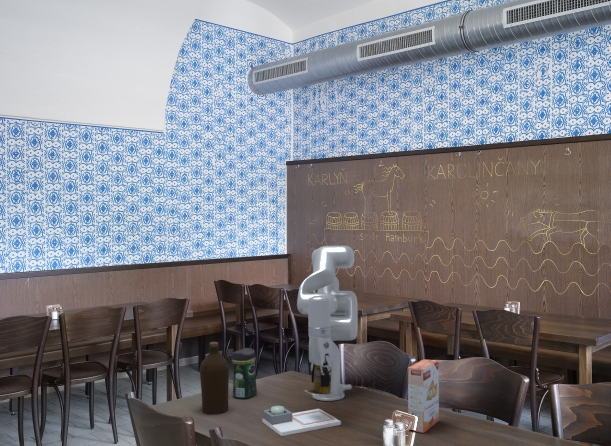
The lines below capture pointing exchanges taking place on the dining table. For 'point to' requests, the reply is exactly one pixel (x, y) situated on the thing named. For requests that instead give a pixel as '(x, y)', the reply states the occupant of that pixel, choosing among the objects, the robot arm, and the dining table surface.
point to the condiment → (319, 383)
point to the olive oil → (214, 381)
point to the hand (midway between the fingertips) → (320, 383)
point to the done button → (277, 410)
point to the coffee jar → (244, 373)
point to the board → (298, 421)
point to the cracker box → (424, 393)
